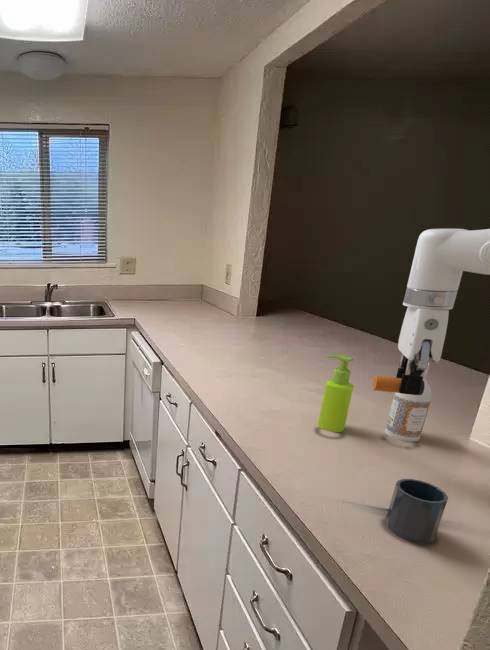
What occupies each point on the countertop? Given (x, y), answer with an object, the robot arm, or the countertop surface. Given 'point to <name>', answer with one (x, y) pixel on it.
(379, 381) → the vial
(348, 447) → the countertop surface
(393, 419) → the bath foam
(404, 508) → the holder
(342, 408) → the soap dispenser
